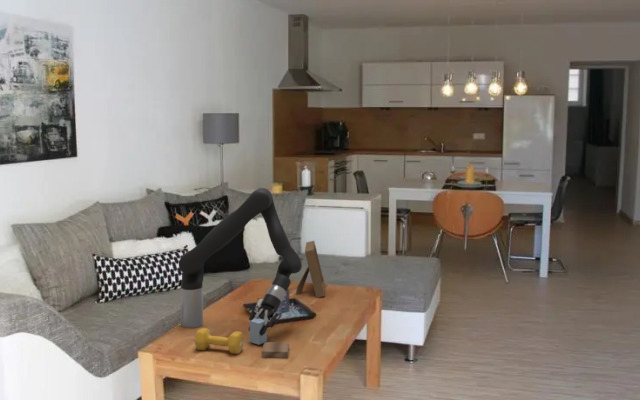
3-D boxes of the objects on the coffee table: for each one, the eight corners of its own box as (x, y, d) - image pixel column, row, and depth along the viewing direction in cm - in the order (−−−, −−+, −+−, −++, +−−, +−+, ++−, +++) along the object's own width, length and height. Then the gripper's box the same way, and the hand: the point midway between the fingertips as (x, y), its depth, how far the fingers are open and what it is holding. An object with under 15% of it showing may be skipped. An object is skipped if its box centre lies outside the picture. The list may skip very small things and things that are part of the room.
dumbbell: (192, 352, 265) (192, 332, 264) (202, 344, 274) (202, 325, 273) (237, 357, 261) (237, 337, 259) (245, 349, 269) (245, 329, 268)
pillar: (249, 341, 275) (249, 321, 273) (257, 338, 279) (257, 317, 277) (259, 344, 272) (259, 323, 270) (266, 341, 276) (266, 320, 274)
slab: (261, 358, 260) (261, 351, 260) (264, 349, 270) (264, 342, 270) (287, 359, 260) (287, 351, 260) (289, 349, 270) (289, 342, 270)
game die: (266, 323, 311) (269, 310, 304) (249, 315, 312) (252, 303, 305) (274, 309, 317) (277, 297, 310) (258, 302, 318) (261, 289, 311)
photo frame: (324, 285, 360) (324, 240, 357) (324, 297, 339) (324, 249, 335) (297, 285, 361) (297, 240, 357) (295, 297, 339) (294, 249, 335)
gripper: (256, 290, 282) (237, 325, 274) (283, 296, 274) (264, 332, 266) (264, 299, 287) (246, 333, 280) (291, 305, 280) (273, 341, 272)
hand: (255, 333), depth 273 cm, fingers closed on pillar, 5 cm apart
